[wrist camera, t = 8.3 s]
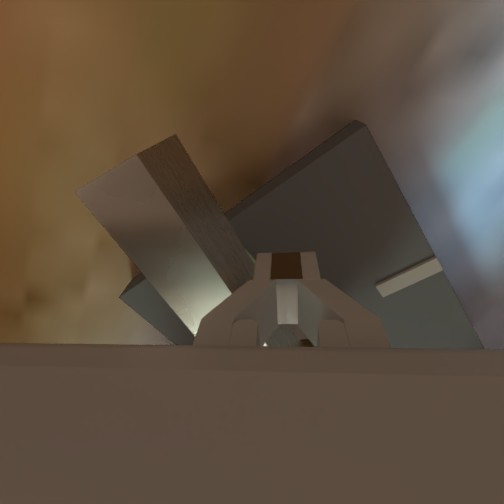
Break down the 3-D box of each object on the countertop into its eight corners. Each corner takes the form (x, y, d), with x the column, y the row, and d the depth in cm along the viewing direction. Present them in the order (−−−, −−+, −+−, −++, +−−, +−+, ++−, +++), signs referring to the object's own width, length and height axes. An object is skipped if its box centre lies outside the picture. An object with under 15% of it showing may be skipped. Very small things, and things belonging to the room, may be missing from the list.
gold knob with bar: (405, 402, 16) (440, 490, 13) (267, 430, 18) (265, 509, 15) (270, 77, 8) (266, 74, 5) (69, 198, 11) (-25, 250, 8)
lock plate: (272, 403, 28) (271, 476, 23) (131, 280, 21) (85, 343, 16) (469, 330, 21) (531, 410, 16) (355, 119, 15) (398, 140, 9)
